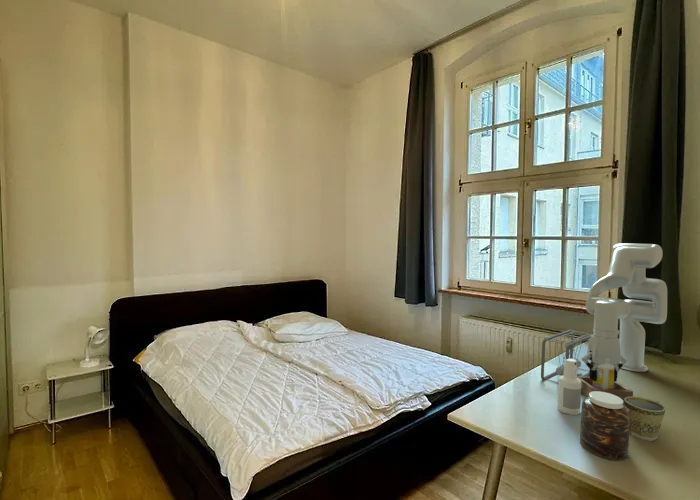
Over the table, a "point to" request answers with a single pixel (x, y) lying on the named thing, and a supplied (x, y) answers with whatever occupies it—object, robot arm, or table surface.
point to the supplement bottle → (604, 376)
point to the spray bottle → (569, 389)
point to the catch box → (617, 391)
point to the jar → (605, 426)
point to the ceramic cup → (644, 417)
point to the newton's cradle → (569, 346)
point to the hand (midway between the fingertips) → (603, 379)
